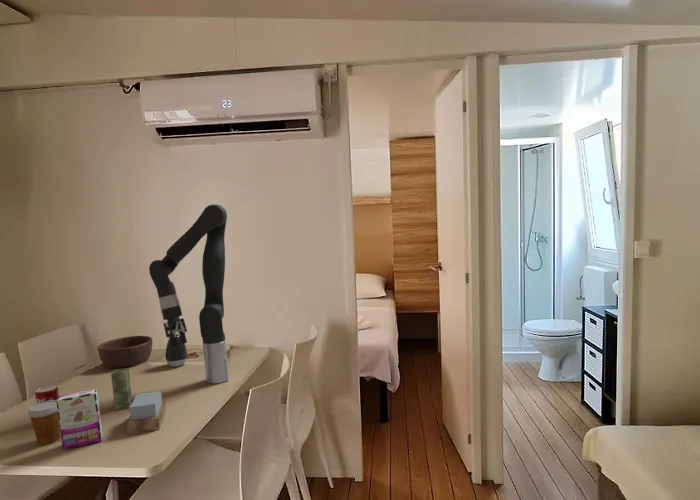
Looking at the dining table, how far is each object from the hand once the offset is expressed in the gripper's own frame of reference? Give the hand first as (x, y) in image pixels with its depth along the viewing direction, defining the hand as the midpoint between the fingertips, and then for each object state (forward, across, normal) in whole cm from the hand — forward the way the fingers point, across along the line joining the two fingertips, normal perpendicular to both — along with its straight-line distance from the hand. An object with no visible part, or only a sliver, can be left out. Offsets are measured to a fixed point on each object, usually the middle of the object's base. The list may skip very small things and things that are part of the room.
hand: (179, 344), depth 198 cm
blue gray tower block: (+18, -30, +3) cm, 35 cm away
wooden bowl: (+3, +40, +48) cm, 62 cm away
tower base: (+22, -29, +4) cm, 37 cm away
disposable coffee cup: (+18, -41, +32) cm, 55 cm away
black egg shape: (+10, +33, +19) cm, 39 cm away
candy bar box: (+21, -43, +19) cm, 52 cm away
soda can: (+13, -26, +42) cm, 51 cm away
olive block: (+16, -15, +20) cm, 30 cm away
